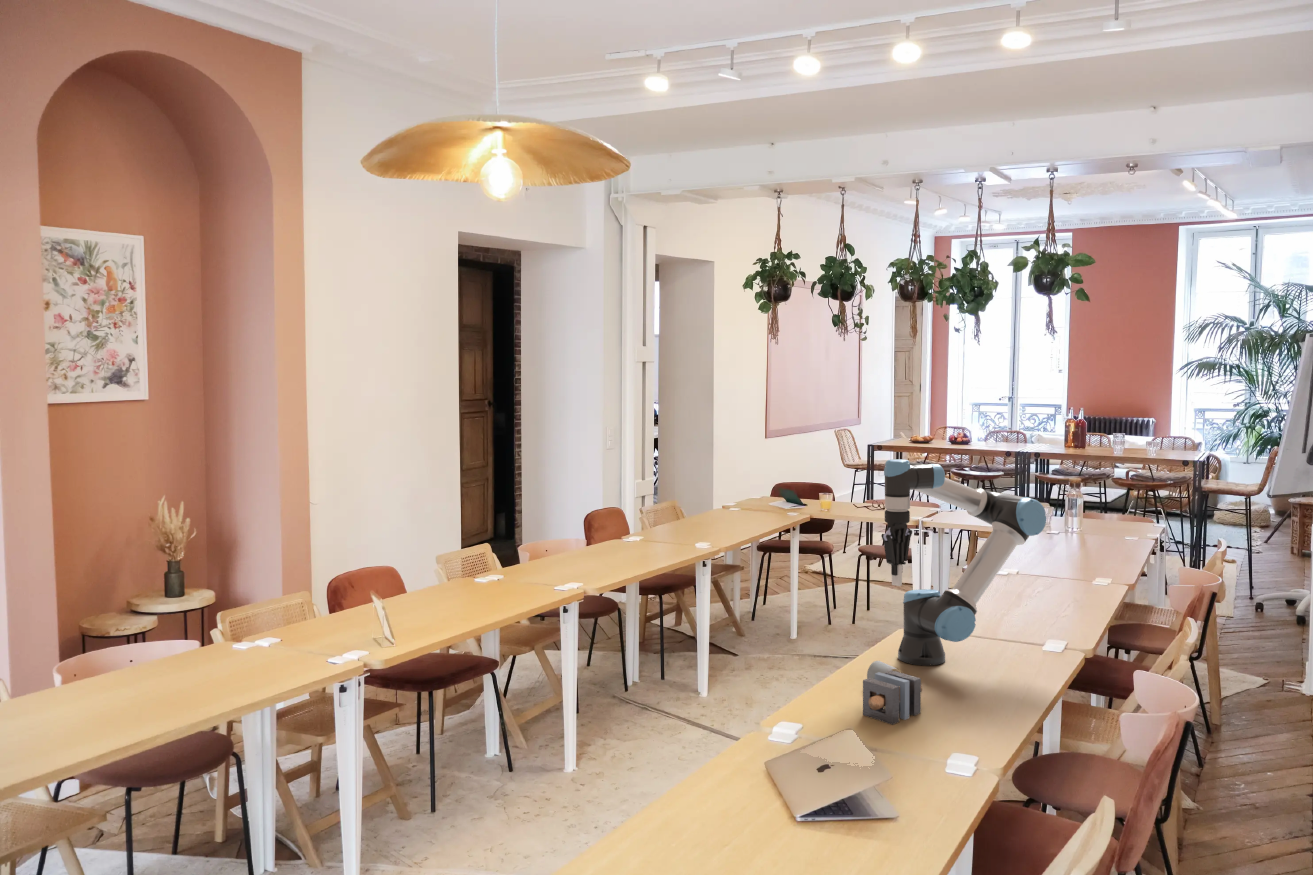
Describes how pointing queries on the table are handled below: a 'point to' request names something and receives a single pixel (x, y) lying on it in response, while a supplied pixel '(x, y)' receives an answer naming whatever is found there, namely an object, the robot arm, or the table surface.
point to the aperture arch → (903, 691)
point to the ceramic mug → (879, 669)
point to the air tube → (879, 701)
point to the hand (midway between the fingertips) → (896, 585)
